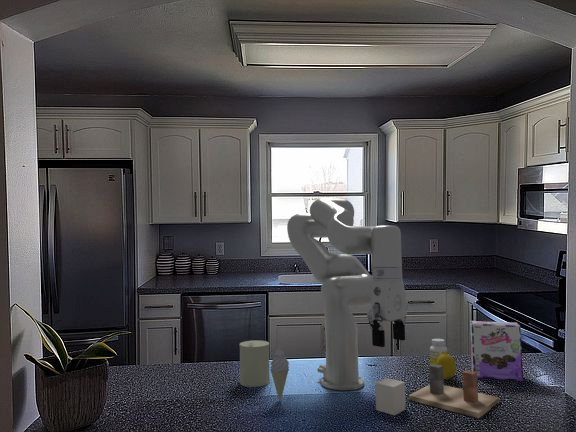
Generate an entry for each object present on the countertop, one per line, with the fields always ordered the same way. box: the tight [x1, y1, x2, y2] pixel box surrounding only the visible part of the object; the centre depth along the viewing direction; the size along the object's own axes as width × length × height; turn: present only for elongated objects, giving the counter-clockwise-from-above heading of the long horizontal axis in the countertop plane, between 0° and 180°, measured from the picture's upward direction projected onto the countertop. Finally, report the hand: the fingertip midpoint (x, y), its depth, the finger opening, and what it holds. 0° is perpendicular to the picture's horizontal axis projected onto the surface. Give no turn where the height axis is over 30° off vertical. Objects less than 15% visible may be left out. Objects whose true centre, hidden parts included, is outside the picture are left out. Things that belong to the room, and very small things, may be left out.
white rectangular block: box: [374, 377, 406, 416], centre depth 107 cm, size 5×5×7 cm
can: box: [238, 339, 271, 388], centre depth 131 cm, size 9×9×12 cm
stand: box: [408, 364, 500, 419], centre depth 112 cm, size 18×14×8 cm
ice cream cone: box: [269, 343, 290, 401], centre depth 115 cm, size 5×5×15 cm
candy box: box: [469, 320, 524, 382], centre depth 132 cm, size 14×6×16 cm, turn 71°
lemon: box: [437, 353, 457, 381], centre depth 130 cm, size 6×6×8 cm
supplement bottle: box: [429, 338, 449, 365], centre depth 140 cm, size 5×5×10 cm
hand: (389, 342), depth 108 cm, fingers open, 9 cm apart
